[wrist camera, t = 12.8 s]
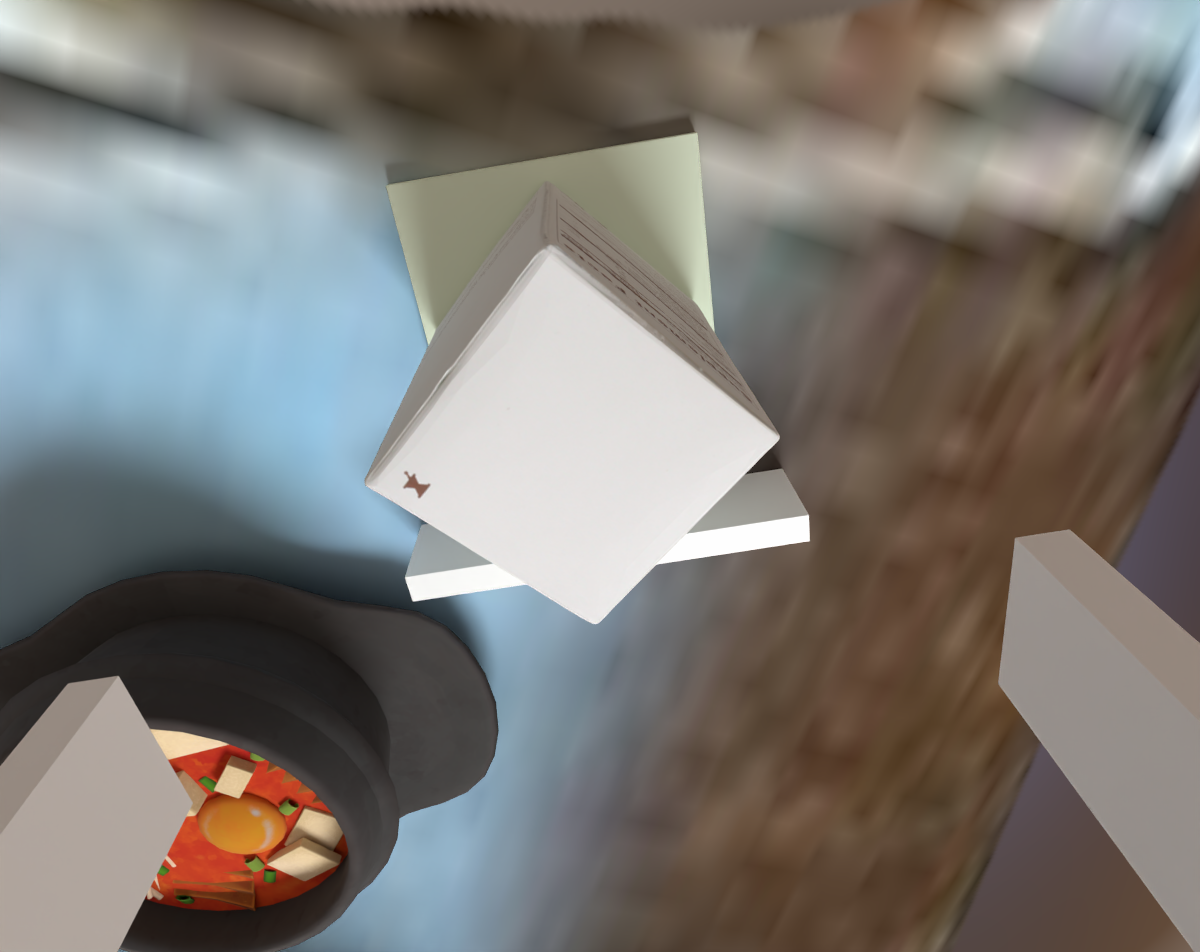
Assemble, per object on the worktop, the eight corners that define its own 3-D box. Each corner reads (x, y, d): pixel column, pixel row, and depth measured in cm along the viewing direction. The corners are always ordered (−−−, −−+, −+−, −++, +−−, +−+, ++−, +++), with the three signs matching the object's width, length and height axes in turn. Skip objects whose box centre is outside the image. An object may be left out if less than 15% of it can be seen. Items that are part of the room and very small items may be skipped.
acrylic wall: (428, 547, 34) (413, 601, 31) (421, 524, 34) (404, 577, 30) (783, 492, 34) (809, 541, 30) (782, 468, 33) (808, 514, 30)
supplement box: (580, 440, 32) (591, 638, 20) (430, 329, 29) (348, 486, 18) (703, 302, 29) (791, 442, 18) (550, 169, 27) (542, 235, 15)
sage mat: (461, 457, 32) (460, 463, 32) (388, 184, 27) (385, 185, 27) (719, 416, 32) (722, 421, 31) (695, 131, 27) (697, 132, 26)
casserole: (81, 852, 42) (-21, 1017, 35) (-96, 579, 34) (-281, 720, 26) (527, 802, 42) (519, 956, 35) (463, 514, 34) (434, 637, 26)
